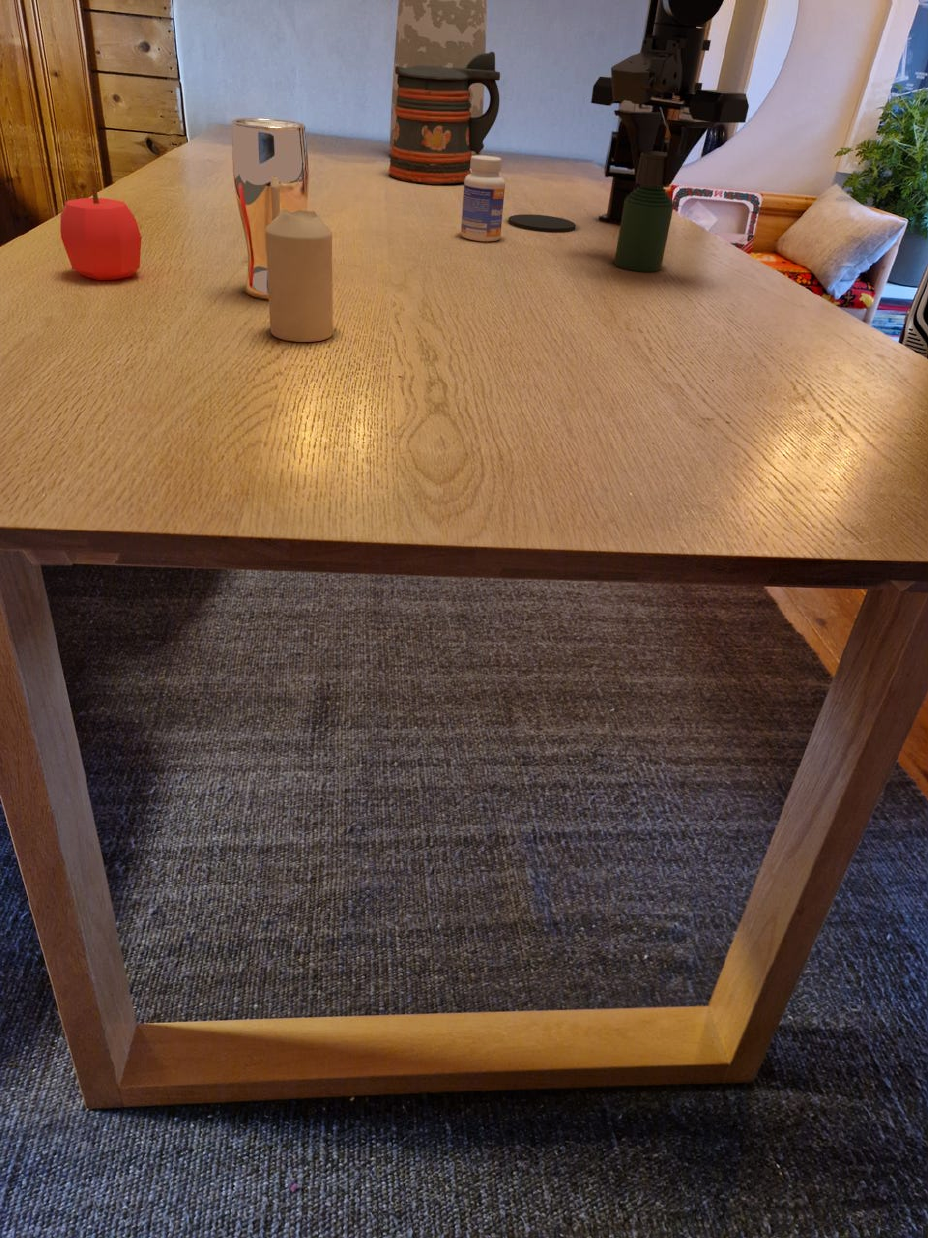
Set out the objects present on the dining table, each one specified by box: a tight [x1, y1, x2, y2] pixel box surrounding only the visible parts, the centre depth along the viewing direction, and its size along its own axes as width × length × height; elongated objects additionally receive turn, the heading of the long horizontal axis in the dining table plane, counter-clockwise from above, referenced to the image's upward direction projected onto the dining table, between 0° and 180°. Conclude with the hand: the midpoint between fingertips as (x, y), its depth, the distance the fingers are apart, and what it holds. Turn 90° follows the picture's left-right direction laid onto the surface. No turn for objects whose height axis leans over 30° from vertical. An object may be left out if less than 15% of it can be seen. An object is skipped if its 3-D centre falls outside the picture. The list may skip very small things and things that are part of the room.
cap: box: [636, 151, 670, 188], centre depth 104 cm, size 4×4×3 cm
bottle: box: [613, 185, 674, 273], centre depth 107 cm, size 6×6×12 cm
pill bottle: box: [460, 154, 506, 242], centre depth 114 cm, size 5×5×10 cm
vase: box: [389, 0, 488, 162], centre depth 168 cm, size 20×19×38 cm
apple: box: [59, 187, 142, 281], centre depth 86 cm, size 8×8×8 cm
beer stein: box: [388, 51, 501, 186], centre depth 151 cm, size 19×15×20 cm
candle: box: [265, 209, 334, 343], centre depth 74 cm, size 6×6×10 cm
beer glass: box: [231, 117, 310, 301], centre depth 83 cm, size 7×7×15 cm
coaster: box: [507, 213, 577, 233], centre depth 128 cm, size 10×10×1 cm
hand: (652, 181), depth 105 cm, fingers closed on cap, 4 cm apart
